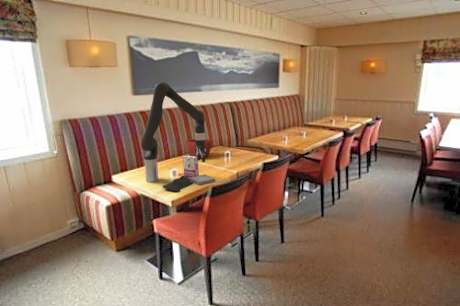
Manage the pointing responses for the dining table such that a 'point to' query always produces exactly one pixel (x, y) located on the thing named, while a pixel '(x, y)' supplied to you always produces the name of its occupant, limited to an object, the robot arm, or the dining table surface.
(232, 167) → the dining table surface
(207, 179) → the slate board
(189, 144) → the plant pot
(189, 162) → the candy bar box
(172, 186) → the dark slate chunk
